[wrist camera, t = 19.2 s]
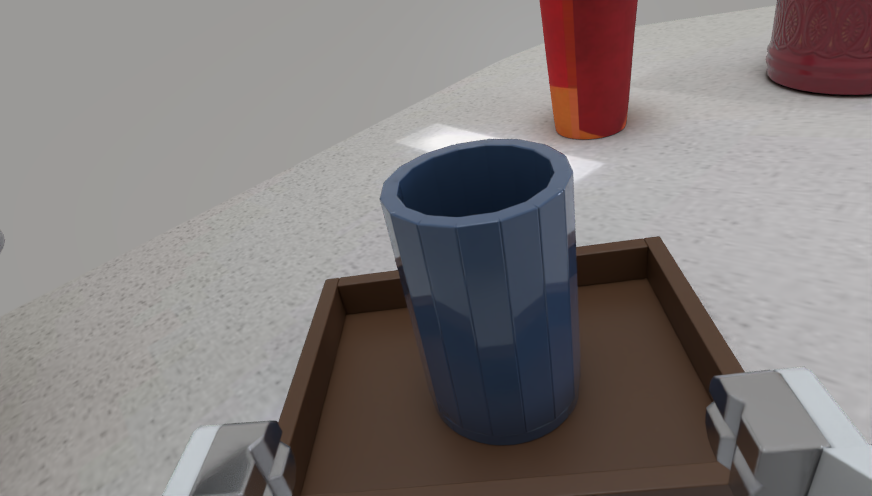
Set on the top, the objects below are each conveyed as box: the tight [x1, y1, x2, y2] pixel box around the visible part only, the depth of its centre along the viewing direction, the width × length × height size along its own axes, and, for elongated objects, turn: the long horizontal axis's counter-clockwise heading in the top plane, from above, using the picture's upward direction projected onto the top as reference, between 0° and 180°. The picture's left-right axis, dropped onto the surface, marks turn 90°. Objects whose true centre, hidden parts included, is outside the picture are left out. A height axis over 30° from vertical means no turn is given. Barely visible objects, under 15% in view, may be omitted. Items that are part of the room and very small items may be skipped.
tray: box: [278, 236, 745, 496], centre depth 23 cm, size 18×14×2 cm
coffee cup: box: [540, 0, 638, 139], centre depth 43 cm, size 8×8×15 cm
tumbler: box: [380, 139, 581, 445], centre depth 21 cm, size 6×6×10 cm
